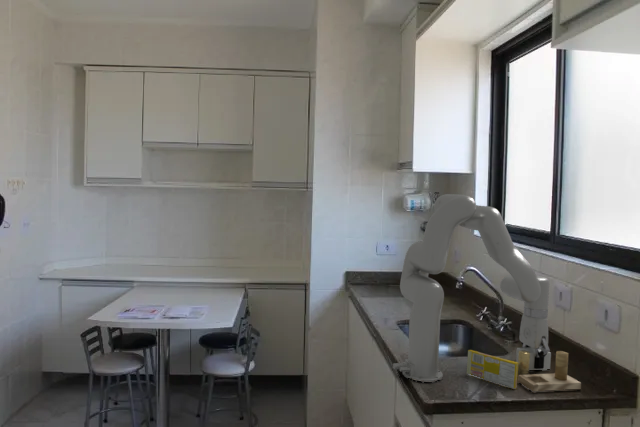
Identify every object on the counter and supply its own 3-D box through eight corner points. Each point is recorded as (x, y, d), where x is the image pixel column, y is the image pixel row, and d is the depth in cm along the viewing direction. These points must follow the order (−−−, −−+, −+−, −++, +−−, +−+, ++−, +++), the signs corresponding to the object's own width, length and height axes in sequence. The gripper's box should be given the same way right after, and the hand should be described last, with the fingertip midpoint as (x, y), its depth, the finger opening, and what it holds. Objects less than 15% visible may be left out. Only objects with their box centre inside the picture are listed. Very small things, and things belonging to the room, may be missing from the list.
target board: (533, 393, 151) (534, 358, 151) (517, 382, 159) (519, 349, 159) (580, 390, 154) (582, 356, 154) (563, 380, 162) (565, 348, 162)
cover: (525, 371, 170) (526, 353, 169) (515, 364, 175) (516, 347, 175) (550, 370, 171) (551, 352, 171) (539, 363, 177) (540, 346, 177)
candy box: (517, 389, 155) (519, 362, 154) (514, 390, 153) (515, 363, 153) (469, 373, 166) (470, 348, 166) (466, 375, 165) (467, 350, 164)
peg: (521, 378, 163) (522, 353, 163) (515, 374, 166) (516, 350, 166) (530, 377, 164) (532, 353, 163) (524, 374, 167) (526, 350, 167)
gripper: (511, 306, 180) (508, 356, 181) (541, 319, 163) (538, 374, 164) (530, 306, 181) (527, 355, 182) (562, 319, 165) (559, 373, 166)
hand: (532, 364), depth 173 cm, fingers closed on cover, 6 cm apart
